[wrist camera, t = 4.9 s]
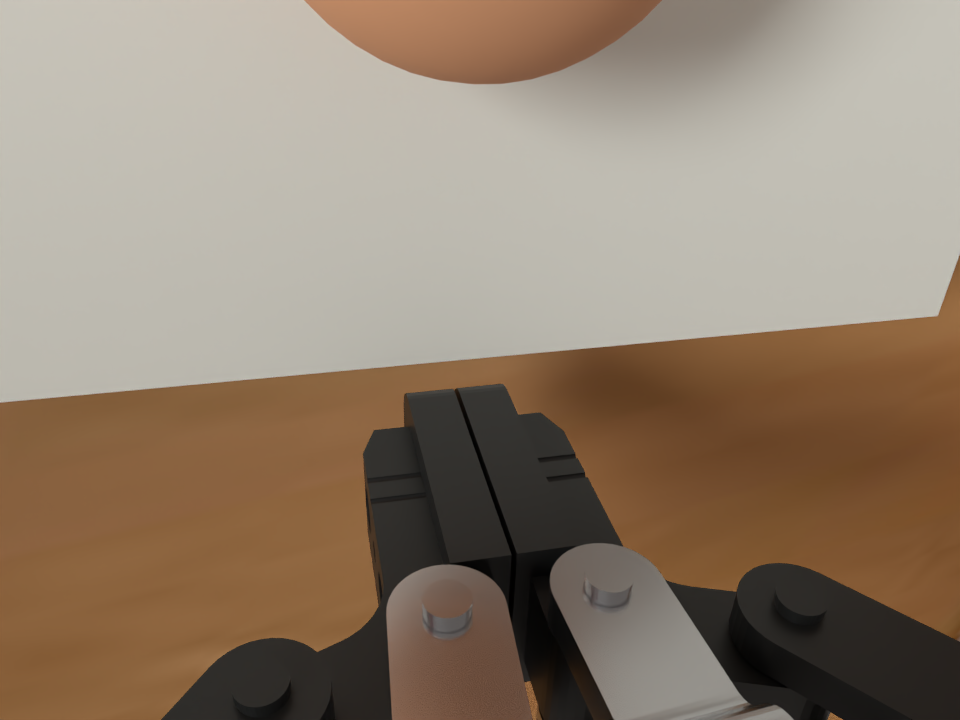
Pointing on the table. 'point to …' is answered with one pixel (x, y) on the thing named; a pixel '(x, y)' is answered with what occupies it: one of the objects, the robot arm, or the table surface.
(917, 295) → the hole board
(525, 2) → the ball
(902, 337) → the table surface
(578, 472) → the robot arm
